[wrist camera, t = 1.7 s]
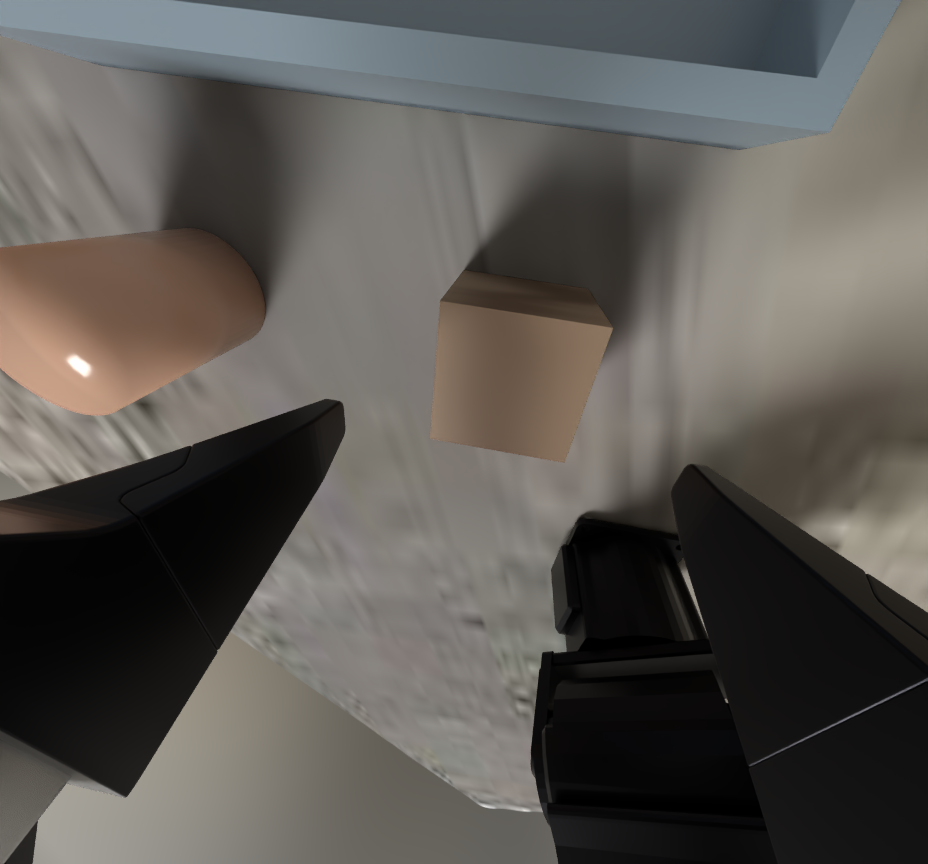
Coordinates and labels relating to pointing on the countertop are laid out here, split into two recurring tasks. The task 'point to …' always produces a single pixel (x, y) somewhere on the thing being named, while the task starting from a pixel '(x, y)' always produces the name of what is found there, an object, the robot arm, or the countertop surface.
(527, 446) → the walnut block
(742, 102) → the tote
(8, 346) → the brown egg
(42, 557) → the robot arm
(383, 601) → the countertop surface
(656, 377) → the countertop surface
